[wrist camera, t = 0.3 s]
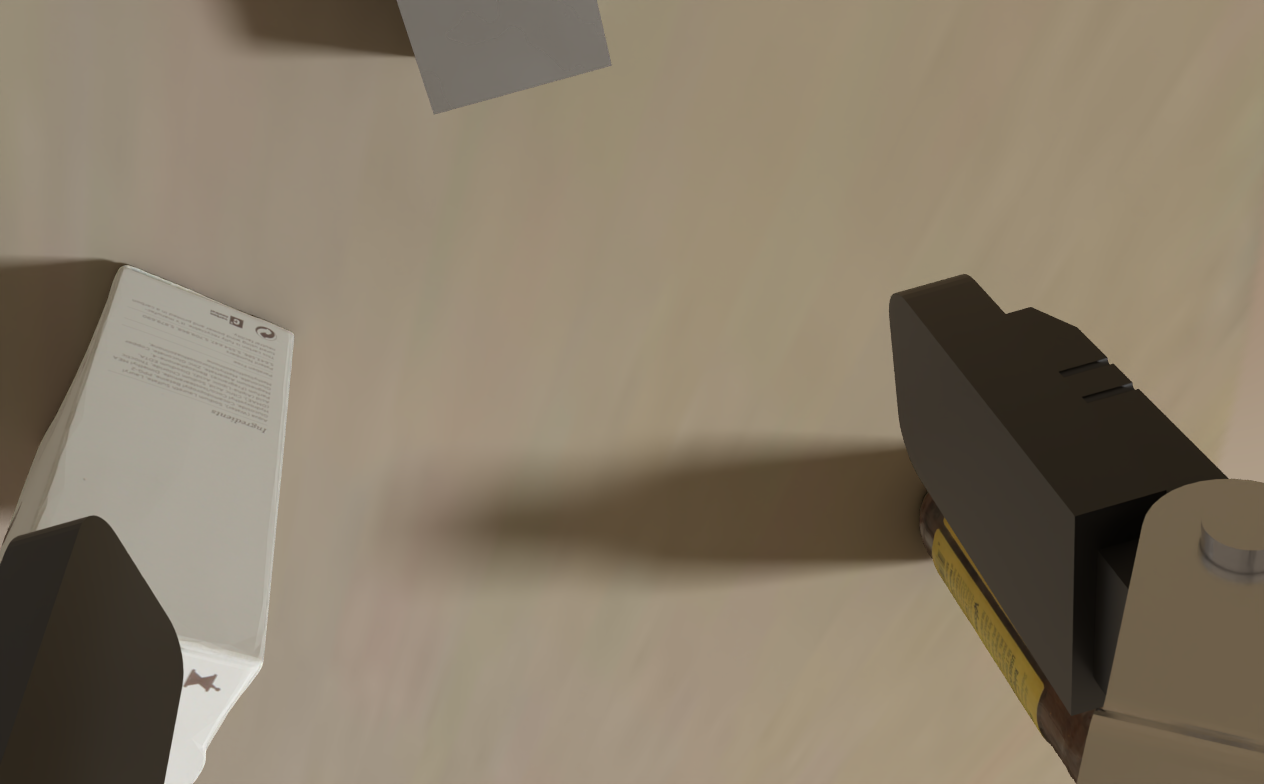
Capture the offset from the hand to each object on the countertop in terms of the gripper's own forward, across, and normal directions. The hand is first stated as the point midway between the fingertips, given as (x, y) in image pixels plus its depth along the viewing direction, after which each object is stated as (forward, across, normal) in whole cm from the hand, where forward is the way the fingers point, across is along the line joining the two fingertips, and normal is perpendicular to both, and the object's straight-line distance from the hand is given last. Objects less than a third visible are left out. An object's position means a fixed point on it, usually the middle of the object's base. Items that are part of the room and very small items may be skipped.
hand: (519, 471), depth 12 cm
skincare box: (+25, +13, +12) cm, 31 cm away
